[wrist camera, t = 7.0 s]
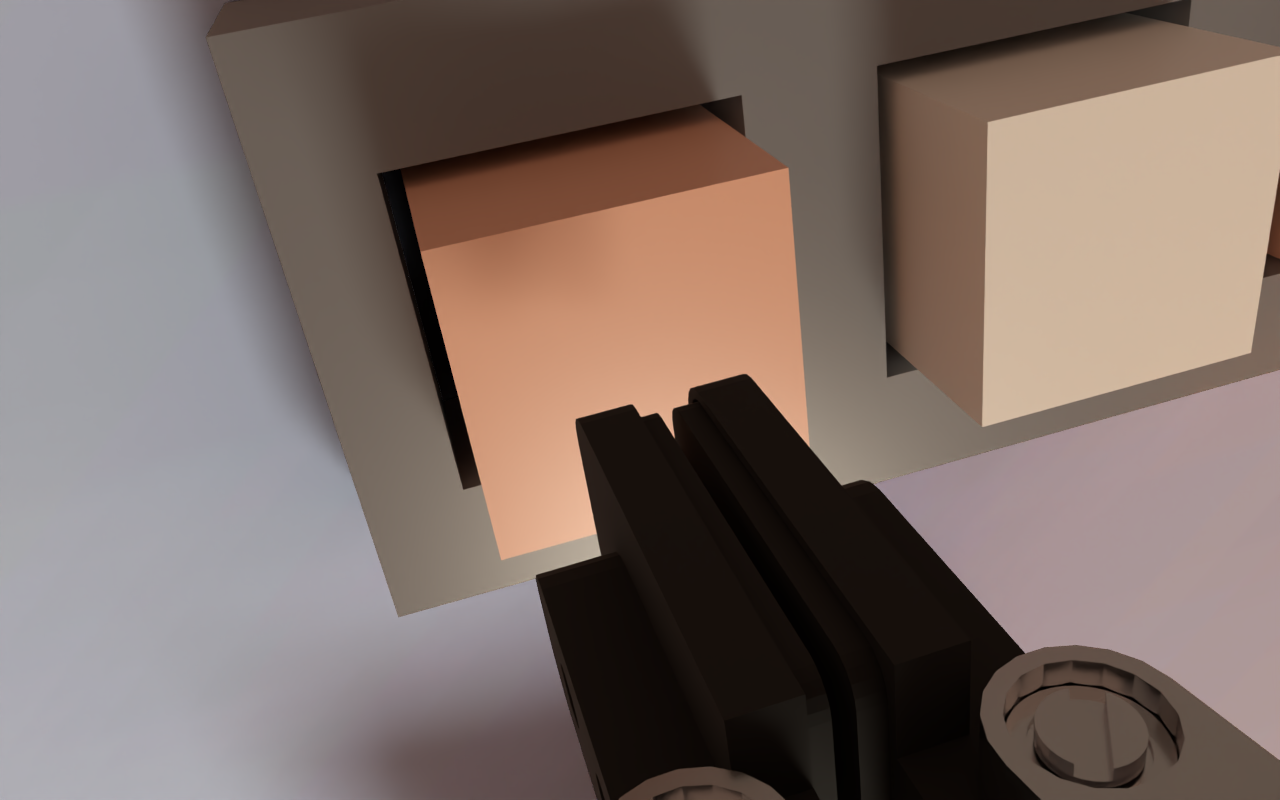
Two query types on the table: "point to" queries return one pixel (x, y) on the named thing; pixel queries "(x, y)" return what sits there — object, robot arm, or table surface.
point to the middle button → (1076, 208)
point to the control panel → (588, 97)
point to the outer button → (603, 294)
